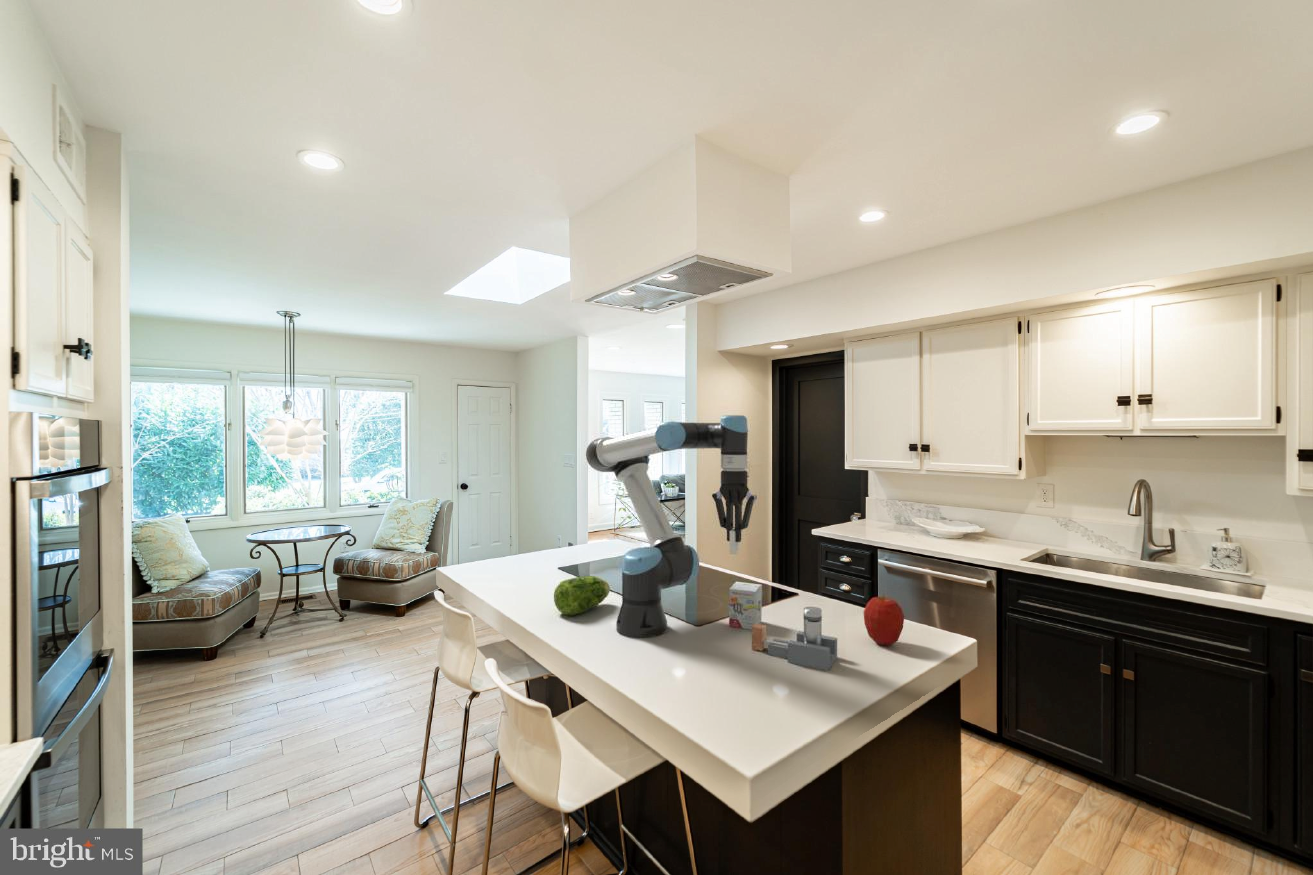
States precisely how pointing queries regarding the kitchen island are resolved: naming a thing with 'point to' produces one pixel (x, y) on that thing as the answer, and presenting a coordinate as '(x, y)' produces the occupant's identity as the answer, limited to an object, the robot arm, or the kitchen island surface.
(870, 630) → the apple
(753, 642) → the pin
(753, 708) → the kitchen island surface
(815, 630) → the grey cylinder
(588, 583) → the green rounded piece
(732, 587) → the ink box
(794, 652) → the mount
